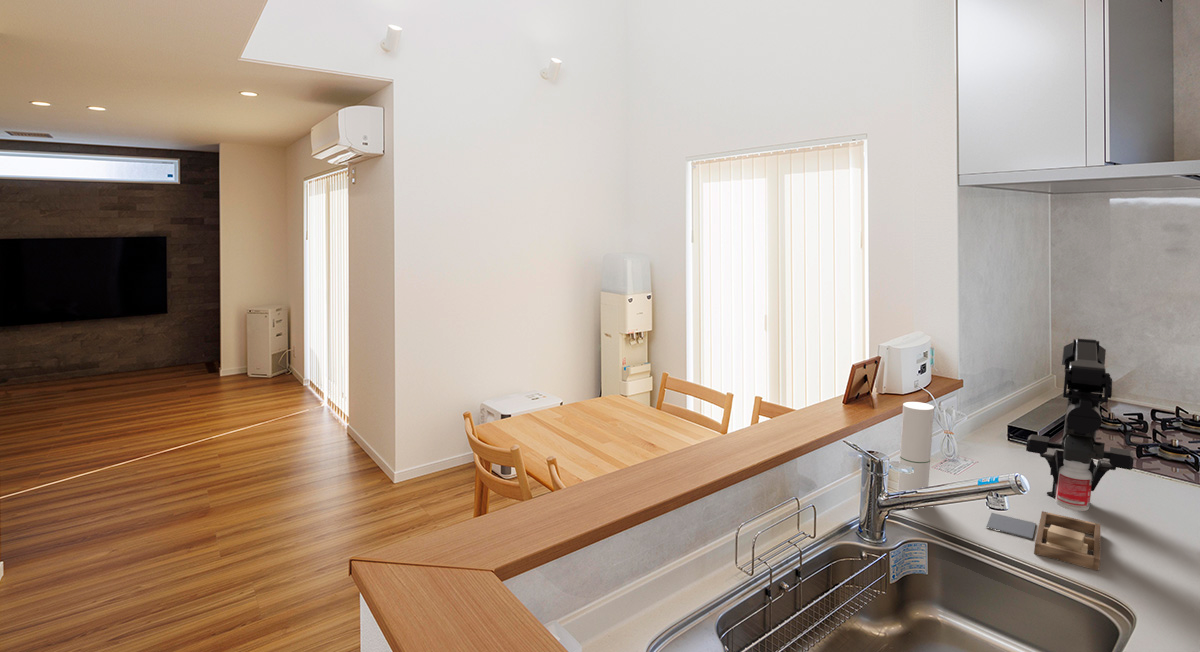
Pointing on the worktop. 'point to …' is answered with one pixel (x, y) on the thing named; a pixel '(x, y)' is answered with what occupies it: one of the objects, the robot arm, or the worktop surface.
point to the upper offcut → (1065, 537)
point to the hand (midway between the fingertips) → (1073, 486)
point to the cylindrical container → (916, 444)
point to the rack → (1067, 554)
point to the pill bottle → (1074, 486)
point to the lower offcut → (1084, 548)
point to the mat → (1011, 525)
